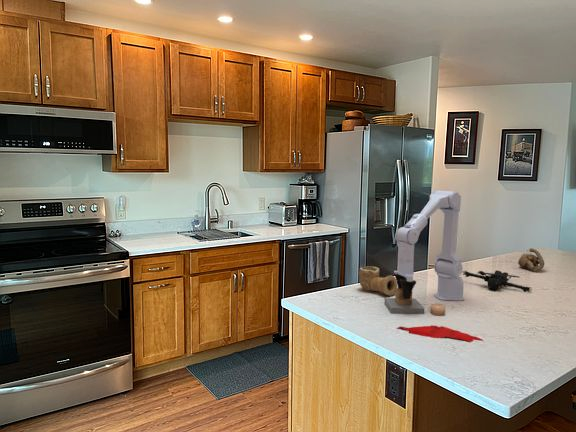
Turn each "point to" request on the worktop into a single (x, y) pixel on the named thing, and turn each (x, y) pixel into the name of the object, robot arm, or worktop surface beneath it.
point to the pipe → (377, 281)
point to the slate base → (404, 307)
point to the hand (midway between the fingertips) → (404, 295)
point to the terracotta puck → (437, 309)
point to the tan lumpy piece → (531, 261)
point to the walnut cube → (402, 298)
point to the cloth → (440, 332)
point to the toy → (496, 280)
